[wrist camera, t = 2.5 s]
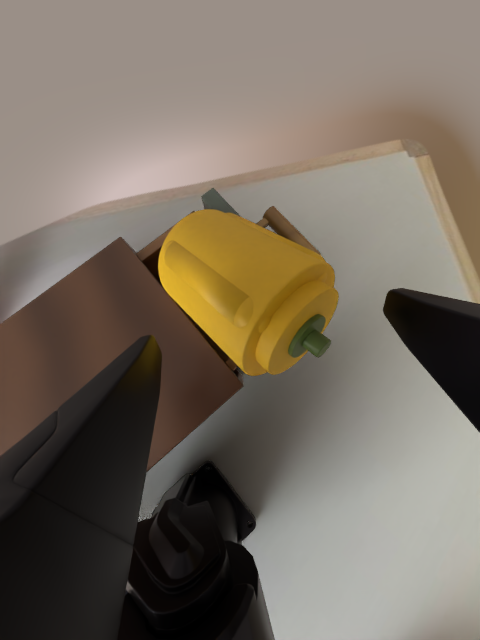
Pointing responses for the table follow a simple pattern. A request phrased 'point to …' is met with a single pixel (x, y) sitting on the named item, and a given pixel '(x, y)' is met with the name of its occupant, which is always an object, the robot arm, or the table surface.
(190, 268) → the yellow pepper
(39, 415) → the cabinet
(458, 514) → the table surface
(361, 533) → the table surface
